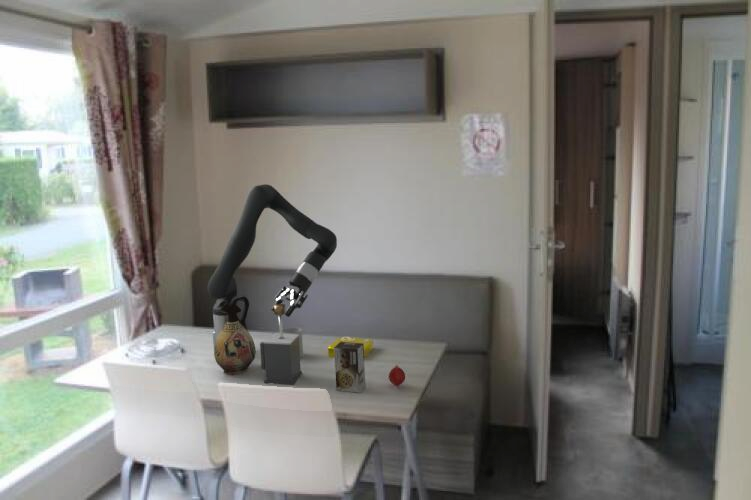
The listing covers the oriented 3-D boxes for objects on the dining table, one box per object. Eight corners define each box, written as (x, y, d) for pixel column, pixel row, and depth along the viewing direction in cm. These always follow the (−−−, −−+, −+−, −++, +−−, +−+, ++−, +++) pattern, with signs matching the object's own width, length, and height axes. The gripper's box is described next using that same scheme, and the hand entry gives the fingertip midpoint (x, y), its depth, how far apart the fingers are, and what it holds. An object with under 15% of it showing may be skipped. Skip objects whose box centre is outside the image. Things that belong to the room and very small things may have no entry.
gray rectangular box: (257, 382, 240) (255, 342, 237) (268, 371, 250) (265, 332, 247) (293, 384, 237) (290, 343, 234) (302, 373, 247) (300, 333, 245)
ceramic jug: (221, 381, 241) (215, 303, 236) (211, 368, 255) (205, 294, 249) (266, 372, 249) (261, 296, 244) (253, 360, 263) (249, 288, 257)
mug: (307, 354, 268) (306, 328, 266) (295, 361, 261) (294, 334, 259) (283, 350, 274) (282, 325, 272) (271, 356, 267) (269, 330, 265)
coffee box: (365, 386, 234) (364, 343, 231) (359, 393, 228) (358, 349, 225) (342, 383, 237) (340, 341, 234) (335, 390, 231) (333, 346, 228)
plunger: (268, 357, 239) (265, 307, 235) (276, 350, 246) (273, 302, 242) (288, 358, 237) (286, 308, 234) (295, 351, 244) (292, 302, 241)
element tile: (326, 357, 265) (326, 346, 264) (341, 345, 279) (341, 334, 278) (361, 361, 260) (360, 349, 259) (374, 349, 274) (374, 338, 273)
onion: (388, 383, 235) (387, 362, 234) (404, 382, 236) (403, 361, 234) (390, 390, 230) (389, 368, 228) (406, 389, 230) (405, 367, 229)
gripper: (286, 268, 247) (262, 304, 242) (309, 274, 236) (284, 311, 231) (299, 280, 251) (275, 315, 246) (321, 286, 241) (297, 322, 236)
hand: (279, 313), depth 239 cm, fingers open, 8 cm apart
